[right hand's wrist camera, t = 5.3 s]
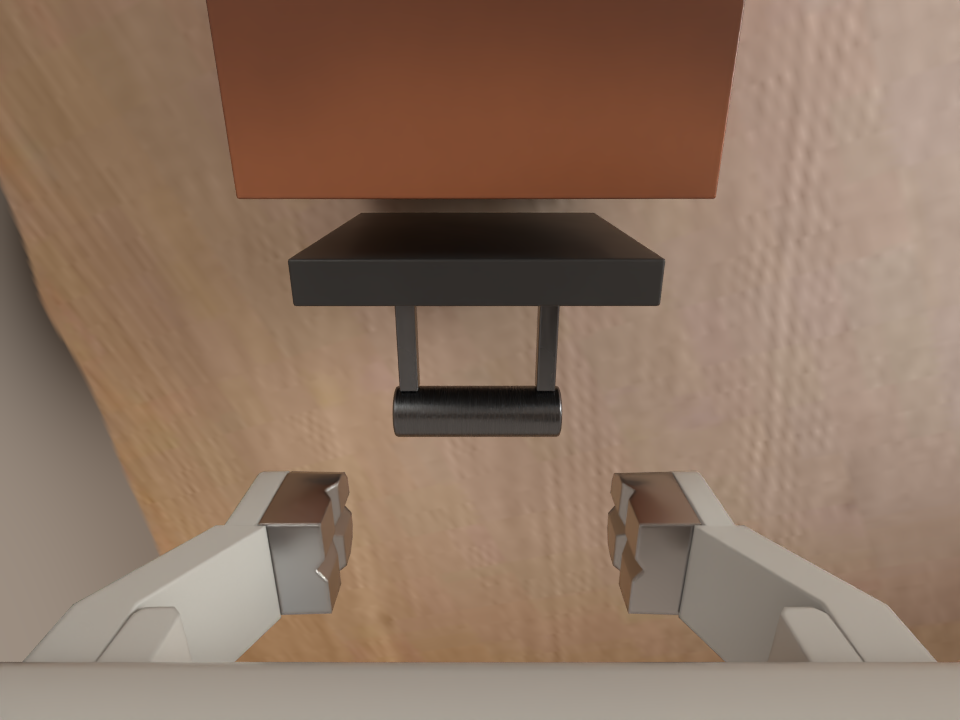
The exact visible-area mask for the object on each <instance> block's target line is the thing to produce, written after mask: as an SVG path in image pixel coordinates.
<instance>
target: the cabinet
mask: <svg viewBox="0 0 960 720" xmlns="http://www.w3.org/2000/svg"><path fill="white" fill-rule="evenodd" d="M206 3H207V9H208V16H209V22H210V29H211V35H212V41H213V48H214V54H215V61H216V67H217V73H218V80H219V86H220V93H221V99H222V106H223V112H224V118H225V125H226V131H227V138H228V144H229V150H230V157H231V163H232V170H233V176H234V182H235V189H236V195H237V198H239V199H713V198H715V197H716V191H717V184H718V177H719V171H720V164H721V157H722V151H723V144H724V138H725V131H726V124H727V118H728V111H729V104H730V98H731V91H732V84H733V78H734V71H735V64H736V58H737V51H738V45H739V38H740V31H741V25H742V18H743V11H744V5H745V0H206Z"/></svg>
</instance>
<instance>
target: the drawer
mask: <svg viewBox="0 0 960 720" xmlns="http://www.w3.org/2000/svg"><path fill="white" fill-rule="evenodd" d="M288 265H289V273H290V280H291V288H292V296H293V304H294V305H295V306H395V317H396V334H397V351H398V368H399V385H400V386H398V387H396V389H395V392H394V398H393V428H394V432H395V435H396V436H398V437H557V436H559V434H560V432H561V426H562V400H561V393H560V390H559V387H557V386H555V380H556V362H557V344H558V325H559V307H560V306H658V305H659V304H660V299H661V291H662V282H663V274H664V266H665V259H663V258H662V257H660V256H659V255H657V254H656V253H654V252H653V251H651V250H650V249H648V248H647V247H645V246H644V245H642V244H640V243H639V242H637V241H636V240H634V239H633V238H631V237H630V236H628V235H627V234H625V233H624V232H622V231H621V230H619V229H618V228H616V227H615V226H613V225H612V224H610V223H609V222H607V221H605V220H604V219H602V218H601V217H599V216H598V215H596V214H595V213H361V214H359V215H357V216H356V217H354V218H353V219H351V220H350V221H348V222H346V223H345V224H343V225H342V226H340V227H339V228H337V229H336V230H334V231H332V232H331V233H329V234H328V235H326V236H325V237H323V238H321V239H320V240H318V241H317V242H315V243H314V244H312V245H310V246H309V247H307V248H306V249H304V250H303V251H301V252H299V253H298V254H296V255H295V256H293V257H292V258H290V259H289V260H288ZM417 306H538V320H537V345H536V370H535V386H419V385H420V375H419V352H418V329H417Z"/></svg>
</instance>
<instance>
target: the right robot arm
mask: <svg viewBox="0 0 960 720" xmlns="http://www.w3.org/2000/svg"><path fill="white" fill-rule="evenodd" d="M610 493H611V496H612V498H613V501H614V504H615V506H614V507H613V509H612V510H611V511H610V512H609V513H608V525H607V535H608V547H609V552H610V557H611V560H612V563H613V566H615V567H616V568H617V569H619V570H620V577H619V586H620V589H621V592H622V595H623V598H624V601H625V604H626V608H627V611H628V613H632V614H668V615H679V618H680V619H681V620H682V621H683V622H684V623H685V624H686V625H687V626H688V627H690V628H691V629H692V630H693V631H694V632H695V633H696V634H697V635H698V636H699V637H700V638H701V639H702V640H703V641H704V642H705V643H706V644H707V645H708V646H709V647H710V648H711V649H712V650H714V651H715V652H716V653H717V654H718V655H719V656H720V657H721V658H722V659H723V660H724V661H725V662H235V661H236V660H237V659H238V658H239V657H240V656H241V655H242V654H243V653H245V652H246V651H247V650H248V649H249V648H250V647H251V646H252V645H253V644H254V643H255V642H256V641H257V640H258V639H259V638H260V637H261V636H262V635H263V634H264V633H265V632H267V631H268V630H269V629H270V628H271V627H272V626H273V625H274V624H275V623H276V622H277V621H278V620H279V619H280V618H281V615H291V614H326V613H332V611H333V608H334V604H335V601H336V598H337V595H338V592H339V589H340V586H341V578H340V570H341V569H343V568H344V567H345V566H346V565H347V563H348V560H349V556H350V552H351V545H352V538H353V523H352V513H351V512H350V511H349V510H348V509H347V508H346V506H345V504H346V501H347V498H348V495H349V485H348V478H347V476H346V474H345V472H304V471H292V472H290V471H264V472H261V473H259V474H258V476H257V477H256V479H255V480H254V482H253V483H252V485H251V486H250V488H249V489H248V491H247V492H246V494H245V495H244V497H243V498H242V500H241V501H240V503H239V504H238V506H237V507H236V509H235V510H234V512H233V513H232V515H231V516H230V518H229V519H228V521H227V522H226V524H225V525H216V526H214V527H212V528H210V529H208V530H207V531H205V532H203V533H201V534H199V535H198V536H196V537H194V538H192V539H190V540H189V541H187V542H185V543H183V544H181V545H180V546H178V547H176V548H174V549H172V550H170V551H169V552H167V553H165V554H163V555H161V556H160V557H158V558H156V559H154V560H152V561H151V562H149V563H147V564H145V565H143V566H142V567H140V568H138V569H136V570H134V571H133V572H131V573H129V574H127V575H125V576H123V577H122V578H120V579H118V580H116V581H115V582H113V583H111V584H109V585H107V586H105V587H104V588H102V589H100V590H98V591H96V592H95V593H93V594H91V595H89V596H87V597H86V598H84V599H82V600H80V601H78V602H76V603H75V604H73V605H72V606H71V607H70V609H69V610H68V611H67V612H66V613H65V614H64V615H63V616H62V618H61V619H60V620H59V621H58V622H57V623H56V624H55V626H54V627H53V628H52V629H51V630H50V631H49V632H48V634H47V635H46V636H45V637H44V638H43V639H42V640H41V641H40V643H39V644H38V645H37V646H36V647H35V648H34V649H33V651H32V652H31V653H30V654H29V655H28V656H27V657H26V659H25V660H24V661H23V662H0V720H960V662H937V661H936V660H935V659H934V657H933V656H932V655H931V654H930V653H929V652H928V651H927V649H926V648H925V647H924V646H923V645H922V644H921V643H920V641H919V640H918V639H917V638H916V637H915V636H914V635H913V633H912V632H911V631H910V630H909V629H908V628H907V627H906V625H905V624H904V623H903V622H902V621H901V620H900V619H899V617H898V616H897V615H896V614H895V613H894V612H893V611H892V609H891V608H890V607H889V606H888V605H887V604H885V603H883V602H881V601H879V600H878V599H876V598H874V597H872V596H870V595H869V594H867V593H865V592H863V591H861V590H860V589H858V588H856V587H854V586H852V585H851V584H849V583H847V582H845V581H843V580H842V579H840V578H838V577H836V576H834V575H833V574H831V573H829V572H827V571H825V570H824V569H822V568H820V567H818V566H816V565H815V564H813V563H811V562H809V561H807V560H806V559H804V558H802V557H800V556H798V555H797V554H795V553H793V552H791V551H789V550H787V549H786V548H784V547H782V546H780V545H778V544H777V543H775V542H773V541H771V540H769V539H768V538H766V537H764V536H762V535H760V534H759V533H757V532H755V531H753V530H751V529H750V528H748V527H746V526H744V525H735V524H734V522H733V521H732V519H731V518H730V516H729V515H728V513H727V512H726V510H725V509H724V507H723V506H722V505H721V503H720V502H719V500H718V499H717V497H716V496H715V494H714V493H713V491H712V490H711V488H710V487H709V485H708V484H707V482H706V481H705V479H704V478H703V476H702V475H701V473H699V472H697V471H674V472H645V473H614V475H613V478H612V483H611V492H610Z"/></svg>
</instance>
